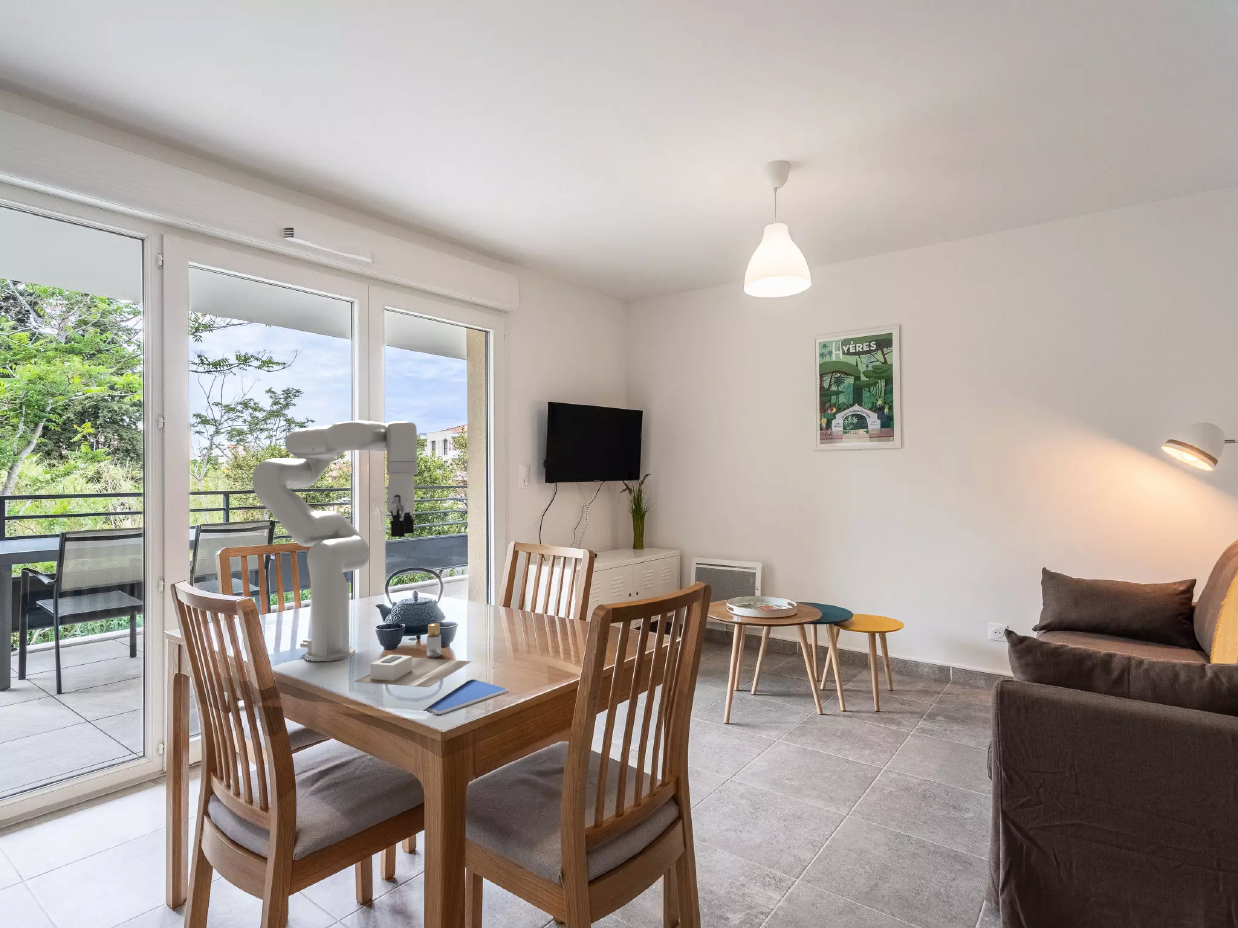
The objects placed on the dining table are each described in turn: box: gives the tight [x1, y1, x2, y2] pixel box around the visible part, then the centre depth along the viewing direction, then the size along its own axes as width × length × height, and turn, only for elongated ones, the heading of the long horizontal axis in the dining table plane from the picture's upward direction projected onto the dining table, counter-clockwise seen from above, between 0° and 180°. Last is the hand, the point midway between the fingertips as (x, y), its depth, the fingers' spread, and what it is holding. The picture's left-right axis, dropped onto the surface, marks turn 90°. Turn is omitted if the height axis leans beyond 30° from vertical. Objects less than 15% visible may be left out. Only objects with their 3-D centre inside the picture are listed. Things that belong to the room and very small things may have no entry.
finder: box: [369, 654, 413, 680], centre depth 158 cm, size 6×8×4 cm
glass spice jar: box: [426, 622, 442, 658], centre depth 175 cm, size 4×4×10 cm
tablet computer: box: [423, 679, 509, 716], centre depth 145 cm, size 19×13×1 cm, turn 142°
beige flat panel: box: [354, 657, 472, 688], centre depth 160 cm, size 19×21×2 cm
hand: (402, 534), depth 172 cm, fingers open, 9 cm apart
